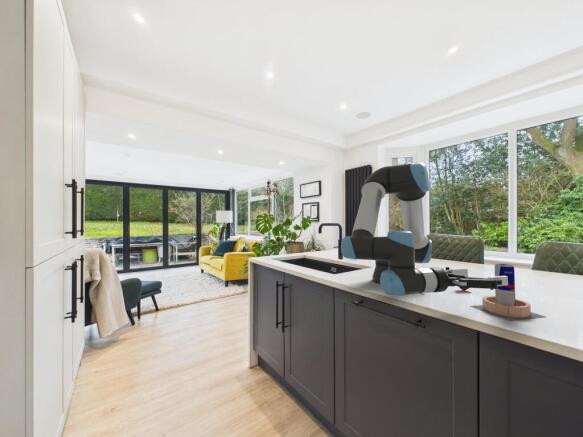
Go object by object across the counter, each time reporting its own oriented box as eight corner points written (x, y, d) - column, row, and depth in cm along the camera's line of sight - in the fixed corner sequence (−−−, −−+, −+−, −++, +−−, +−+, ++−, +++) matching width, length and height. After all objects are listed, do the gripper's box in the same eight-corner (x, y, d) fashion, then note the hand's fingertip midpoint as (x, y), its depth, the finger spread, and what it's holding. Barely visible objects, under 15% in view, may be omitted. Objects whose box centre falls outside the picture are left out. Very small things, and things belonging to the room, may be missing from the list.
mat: (469, 307, 90) (469, 306, 90) (501, 304, 92) (501, 303, 92) (510, 322, 76) (510, 321, 76) (547, 318, 79) (547, 316, 79)
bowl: (474, 306, 89) (474, 297, 89) (502, 304, 91) (502, 295, 91) (510, 319, 77) (509, 308, 77) (540, 316, 80) (540, 305, 80)
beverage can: (511, 312, 81) (509, 265, 81) (492, 307, 85) (491, 263, 86) (518, 309, 83) (517, 264, 83) (500, 305, 88) (499, 262, 88)
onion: (474, 292, 108) (474, 274, 108) (459, 292, 109) (459, 273, 110) (468, 289, 114) (467, 271, 114) (454, 288, 115) (453, 271, 115)
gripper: (404, 283, 91) (453, 279, 95) (464, 304, 66) (528, 298, 71) (403, 262, 91) (453, 259, 95) (463, 276, 66) (527, 271, 71)
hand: (485, 276), depth 83 cm, fingers open, 13 cm apart
